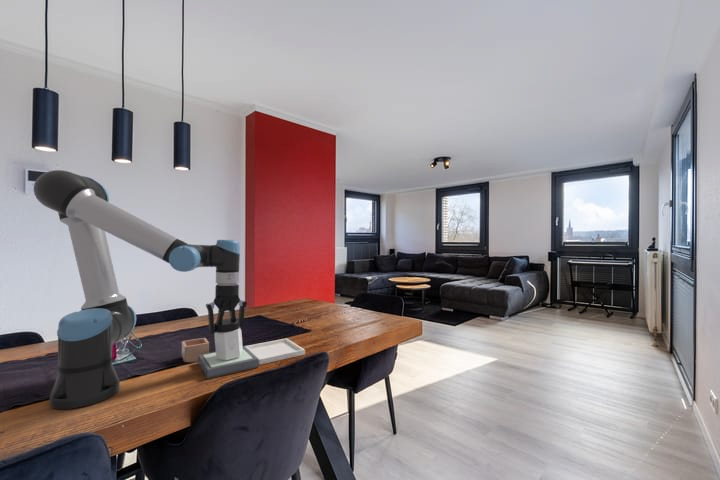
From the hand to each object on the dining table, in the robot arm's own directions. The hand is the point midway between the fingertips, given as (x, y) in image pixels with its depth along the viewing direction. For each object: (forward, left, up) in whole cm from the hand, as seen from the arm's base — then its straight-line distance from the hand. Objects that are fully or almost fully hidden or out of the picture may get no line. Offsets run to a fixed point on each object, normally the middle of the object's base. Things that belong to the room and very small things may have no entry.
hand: (225, 351), depth 115 cm
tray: (+19, +3, -5) cm, 19 cm away
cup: (-7, +14, -5) cm, 16 cm away
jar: (+1, 0, -2) cm, 2 cm away
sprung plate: (+1, 0, -3) cm, 3 cm away
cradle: (+1, 0, -5) cm, 5 cm away
